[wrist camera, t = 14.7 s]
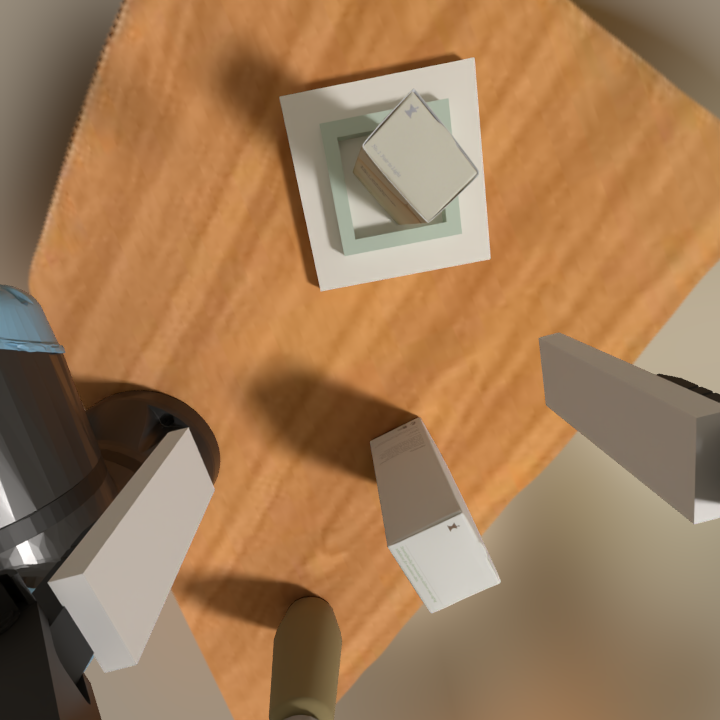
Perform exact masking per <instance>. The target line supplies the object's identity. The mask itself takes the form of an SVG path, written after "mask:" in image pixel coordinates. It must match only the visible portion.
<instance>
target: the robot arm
mask: <svg viewBox="0 0 720 720" xmlns="http://www.w3.org/2000/svg"><path fill="white" fill-rule="evenodd" d="M539 345H540V354H541V364H542V373H543V382H544V392H545V401H546V406H548V407H549V408H550V409H551V410H553V411H554V412H555V413H556V414H557V415H559V416H560V417H561V418H562V419H564V420H565V421H566V422H567V423H569V424H570V425H571V426H572V427H574V428H575V429H576V430H577V431H579V432H580V433H581V434H582V435H584V436H585V437H586V438H588V439H589V440H590V441H591V442H592V443H594V444H595V445H596V446H597V447H599V448H600V449H601V450H603V451H604V452H605V453H606V454H607V455H609V456H610V457H611V458H612V459H614V460H615V461H616V462H617V463H618V464H620V465H621V466H622V467H623V468H625V469H626V470H627V471H629V472H630V473H631V474H632V475H634V476H635V477H636V478H637V479H638V480H640V481H641V482H642V483H644V484H645V485H646V486H647V487H648V488H650V489H651V490H652V491H653V492H655V493H656V494H657V495H658V496H660V497H661V498H662V499H663V500H665V501H666V502H667V503H668V504H670V505H671V506H672V507H673V508H675V509H676V510H677V511H678V512H680V513H681V514H682V515H683V516H685V517H686V518H687V519H689V521H691V522H692V523H693V524H697V523H701V522H705V521H709V520H713V519H717V518H720V394H718V393H713V392H712V391H711V390H708V389H706V388H703V387H698V385H696V384H694V383H691V382H689V381H686V380H684V379H682V378H678V377H673V376H667V375H663V374H657V375H655V374H652V373H650V372H648V371H645V370H643V369H641V368H638V367H636V366H634V365H632V364H630V363H627V362H625V361H623V360H621V359H618V358H616V357H614V356H611V355H609V354H607V353H605V352H602V351H600V350H598V349H596V348H593V347H591V346H589V345H586V344H584V343H582V342H580V341H577V340H575V339H573V338H571V337H568V336H566V335H564V334H561V333H555V334H552V335H548V336H544V337H540V338H539ZM63 353H65V349H64V347H63V346H62V345H59V343H58V341H57V339H56V337H55V335H54V333H53V331H52V329H51V327H50V325H49V323H48V321H47V318H46V316H45V314H44V312H43V309H42V307H41V305H40V304H39V303H38V301H37V300H36V299H35V298H34V297H33V296H32V295H30V294H29V293H27V292H25V291H23V290H21V289H19V288H16V287H13V286H8V285H0V720H101V716H100V713H99V710H98V707H97V703H96V700H95V696H94V693H93V690H92V687H91V683H90V682H89V680H88V678H87V677H86V676H85V674H84V671H85V670H86V668H87V667H88V665H89V664H90V662H91V661H92V659H93V658H94V657H95V658H96V660H97V661H98V663H99V664H100V666H101V668H102V669H103V671H104V672H105V673H106V672H110V671H114V670H118V669H121V668H126V667H130V666H134V665H137V663H138V661H139V659H140V657H141V654H142V652H143V650H144V647H145V645H146V643H147V641H148V639H149V636H150V634H151V632H152V629H153V628H154V625H155V623H156V621H157V619H158V616H159V614H160V612H161V609H162V607H163V605H164V603H165V601H166V598H167V596H168V594H169V592H170V589H171V587H172V585H173V583H174V580H175V578H176V576H177V574H178V571H179V569H180V567H181V565H182V562H183V560H184V558H185V556H186V553H187V551H188V549H189V547H190V544H191V542H192V540H193V538H194V535H195V533H196V531H197V529H198V526H199V524H200V522H201V520H202V517H203V515H204V513H205V511H206V508H207V506H208V504H209V502H210V499H211V497H212V495H213V493H214V490H215V489H214V486H213V485H214V483H215V481H216V479H217V476H218V473H219V468H220V452H219V447H218V444H217V441H216V438H215V436H214V434H213V432H212V430H211V429H210V427H209V426H208V424H207V423H206V422H205V421H204V420H203V418H202V417H201V416H200V415H199V414H198V413H197V412H195V411H194V410H193V409H192V408H190V407H189V406H187V405H186V404H184V403H183V402H181V401H179V400H177V399H175V398H172V397H170V396H167V395H164V394H161V393H157V392H151V391H126V392H121V393H117V394H114V395H111V396H109V397H107V398H105V399H103V400H101V401H99V402H98V403H97V404H95V405H94V406H92V407H91V408H90V409H88V410H87V411H85V410H84V408H83V405H82V403H81V400H80V398H79V395H78V392H77V390H76V387H75V384H74V382H73V379H72V376H71V373H70V371H69V368H68V365H67V363H66V360H65V357H64V355H63Z"/></svg>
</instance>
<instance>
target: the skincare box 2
mask: <svg viewBox="0 0 720 720" xmlns="http://www.w3.org/2000/svg"><path fill="white" fill-rule="evenodd" d="M370 446H371V452H372V457H373V463H374V469H375V475H376V481H377V486H378V492H379V498H380V504H381V510H382V516H383V522H384V527H385V534H386V539H387V547H388V548H389V550H390V551H391V553H392V555H393V556H394V558H395V559H396V561H397V562H398V564H399V566H400V567H401V569H402V570H403V572H404V573H405V575H406V576H407V578H408V580H409V581H410V583H411V584H412V586H413V587H414V589H415V590H416V592H417V594H418V595H419V597H420V598H421V600H422V601H423V603H424V604H425V606H426V607H427V608H428V610H429V611H430V613H434V612H436V611H439V610H441V609H443V608H446V607H448V606H450V605H452V604H454V603H456V602H458V601H460V600H463V599H465V598H467V597H469V596H471V595H473V594H476V593H478V592H480V591H483V590H485V589H487V588H490V587H492V586H494V585H497V584H499V583H500V582H501V580H500V578H499V576H498V573H497V571H496V568H495V566H494V564H493V562H492V559H491V557H490V555H489V553H488V551H487V549H486V546H485V544H484V542H483V540H482V538H481V536H480V534H479V531H478V529H477V527H476V525H475V523H474V521H473V519H472V516H471V514H470V512H469V510H468V508H467V506H466V504H465V502H464V500H463V497H462V495H461V493H460V491H459V489H458V487H457V485H456V483H455V481H454V479H453V477H452V475H451V473H450V471H449V469H448V467H447V465H446V463H445V461H444V459H443V457H442V455H441V453H440V451H439V450H438V448H437V446H436V444H435V442H434V441H433V439H432V437H431V435H430V433H429V432H428V430H427V428H426V426H425V425H424V423H423V421H422V420H421V418H420V417H418V418H416V419H414V420H412V421H410V422H408V423H406V424H404V425H402V426H400V427H398V428H396V429H394V430H392V431H390V432H388V433H386V434H384V435H382V436H380V437H378V438H375V439H373V440H371V441H370Z"/></svg>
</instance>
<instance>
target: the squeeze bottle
mask: <svg viewBox="0 0 720 720" xmlns="http://www.w3.org/2000/svg"><path fill="white" fill-rule="evenodd" d="M341 647H342V638H341V632H340V629H339V626H338V623H337V620H336V617H335V615H334V612H333V609H332V607H331V606H330V605H329V603H328V602H326V601H324V600H322V599H321V598H316V597H305V598H301V599H299V600H297V601H295V602H294V603H293V604H292V605H291V606H290V607H289V609H288V610H287V612H286V614H285V616H284V618H283V620H282V622H281V623H280V625H279V627H278V629H277V632H276V635H275V638H274V647H273V663H272V678H271V693H270V708H269V720H334V713H335V704H336V694H337V685H338V675H339V666H340V656H341Z"/></svg>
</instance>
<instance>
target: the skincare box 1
mask: <svg viewBox="0 0 720 720" xmlns="http://www.w3.org/2000/svg"><path fill="white" fill-rule="evenodd" d="M353 174H354V175H355V176H356V177H357V178H358V179H359V181H360V182H361V183H362V184H363V185H364V187H365V188H366V189H367V190H368V191H369V193H370V194H371V195H372V196H373V197H374V198H375V199H376V201H377V202H378V203H379V204H380V205H381V206H382V207H383V208H384V210H385V211H386V212H387V213H388V214H389V215H390V216H391V217H392V219H393V220H394V221H395V222H396V223H397V224H398V225H405V224H420V223H429V222H431V221H432V220H433V219H434V218H435V217H436V216H437V215H438V214H439V213H440V212H441V211H442V210H443V209H445V208H446V207H447V206H448V205H449V204H450V203H451V202H452V201H453V200H454V199H455V198H456V197H457V196H458V195H460V194H461V193H462V192H463V191H464V190H465V189H466V188H467V187H468V186H469V185H470V184H471V183H472V182H473V181H474V180H475V179H476V178H477V177H478V176H479V170H478V168H477V167H476V166H475V164H474V163H473V162H472V160H471V159H470V158H469V156H468V155H467V154H466V152H465V151H464V150H463V148H462V147H461V146H460V144H459V143H458V142H457V140H456V139H455V138H454V136H453V135H452V134H451V133H450V131H449V130H448V129H447V128H446V126H445V125H444V124H443V123H442V122H441V120H440V119H439V118H438V116H437V115H436V114H435V113H434V112H433V110H432V109H431V108H430V107H429V105H428V104H427V103H426V102H425V101H424V99H423V98H422V97H421V96H420V95H419V93H418V92H417V91H416V90H415V89H414V88H413V89H412V90H411V91H410V92H409V93H408V94H407V95H406V96H405V97H404V98H403V99H402V100H401V101H400V102H399V103H398V105H397V106H396V107H395V108H394V109H393V110H392V111H391V112H390V113H389V114H388V115H387V116H386V117H385V118H384V119H383V121H382V122H381V123H380V124H379V125H378V126H377V127H376V128H375V130H374V131H373V132H372V133H371V134H370V135H369V136H368V138H367V139H366V140H365V141H364V142H363V144H362V146H361V149H360V152H359V155H358V157H357V160H356V163H355V166H354V169H353Z"/></svg>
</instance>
